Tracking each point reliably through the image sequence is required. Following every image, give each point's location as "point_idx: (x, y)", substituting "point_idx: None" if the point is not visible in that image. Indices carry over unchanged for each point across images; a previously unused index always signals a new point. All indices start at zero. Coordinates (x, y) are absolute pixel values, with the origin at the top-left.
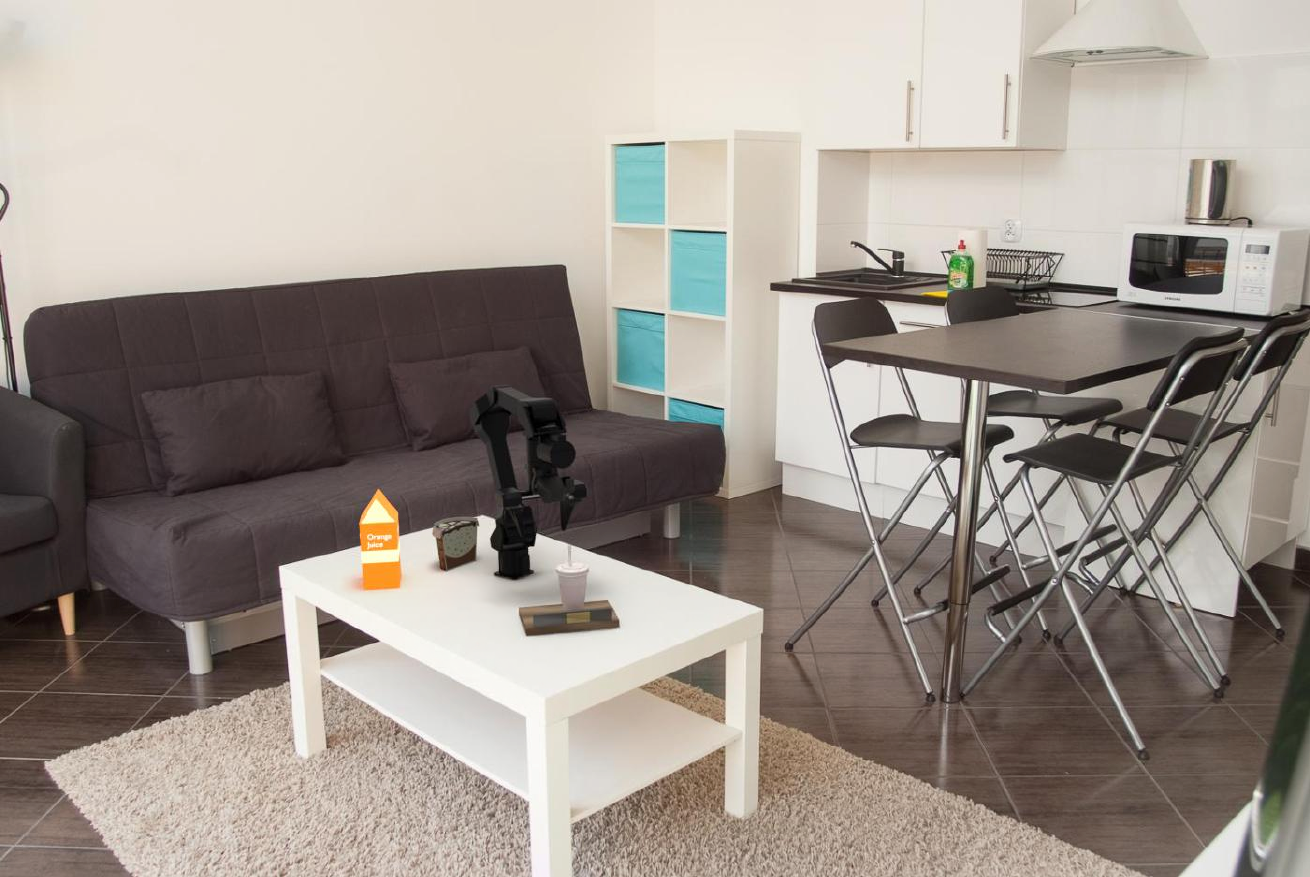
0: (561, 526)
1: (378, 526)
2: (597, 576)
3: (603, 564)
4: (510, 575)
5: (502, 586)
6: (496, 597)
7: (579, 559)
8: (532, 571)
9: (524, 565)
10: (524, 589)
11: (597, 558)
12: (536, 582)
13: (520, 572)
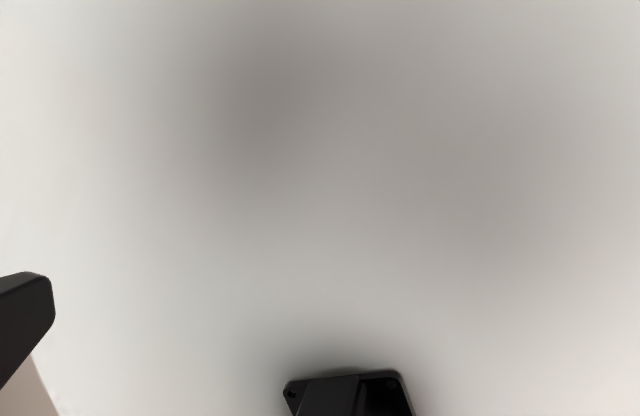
0: (24, 350)
1: None
2: (91, 187)
3: None
4: (395, 409)
5: (487, 354)
6: (620, 259)
7: (88, 375)
8: (293, 386)
9: (333, 407)
10: (432, 260)
11: None
12: (335, 295)
13: (359, 391)
